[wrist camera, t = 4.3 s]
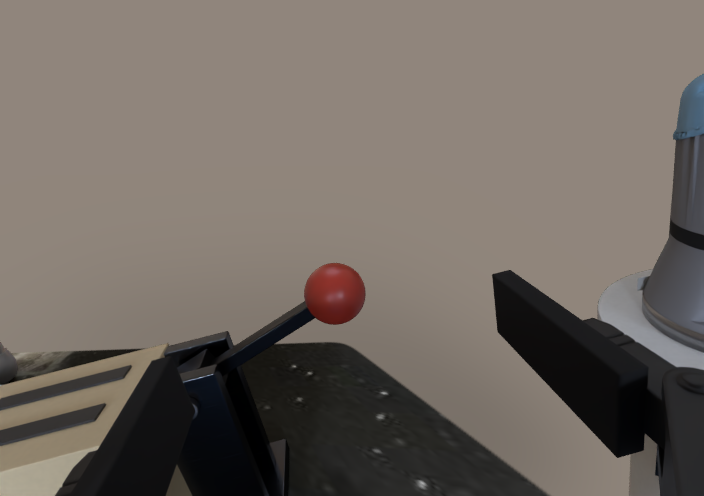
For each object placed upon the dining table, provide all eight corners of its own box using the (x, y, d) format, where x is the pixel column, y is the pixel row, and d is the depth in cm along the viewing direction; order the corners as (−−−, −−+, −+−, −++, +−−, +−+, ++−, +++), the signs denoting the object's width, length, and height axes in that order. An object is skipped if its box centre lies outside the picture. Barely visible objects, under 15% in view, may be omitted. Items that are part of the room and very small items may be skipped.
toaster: (222, 461, 35) (169, 339, 30) (193, 592, 25) (109, 441, 21) (73, 502, 34) (-3, 383, 30) (-16, 652, 24) (-148, 510, 20)
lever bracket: (289, 448, 34) (243, 314, 30) (286, 555, 26) (221, 391, 21) (223, 466, 34) (165, 334, 30) (198, 581, 26) (111, 420, 21)
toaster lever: (370, 287, 28) (341, 244, 26) (382, 313, 24) (348, 264, 23) (207, 391, 29) (170, 353, 27) (193, 432, 25) (149, 391, 24)
